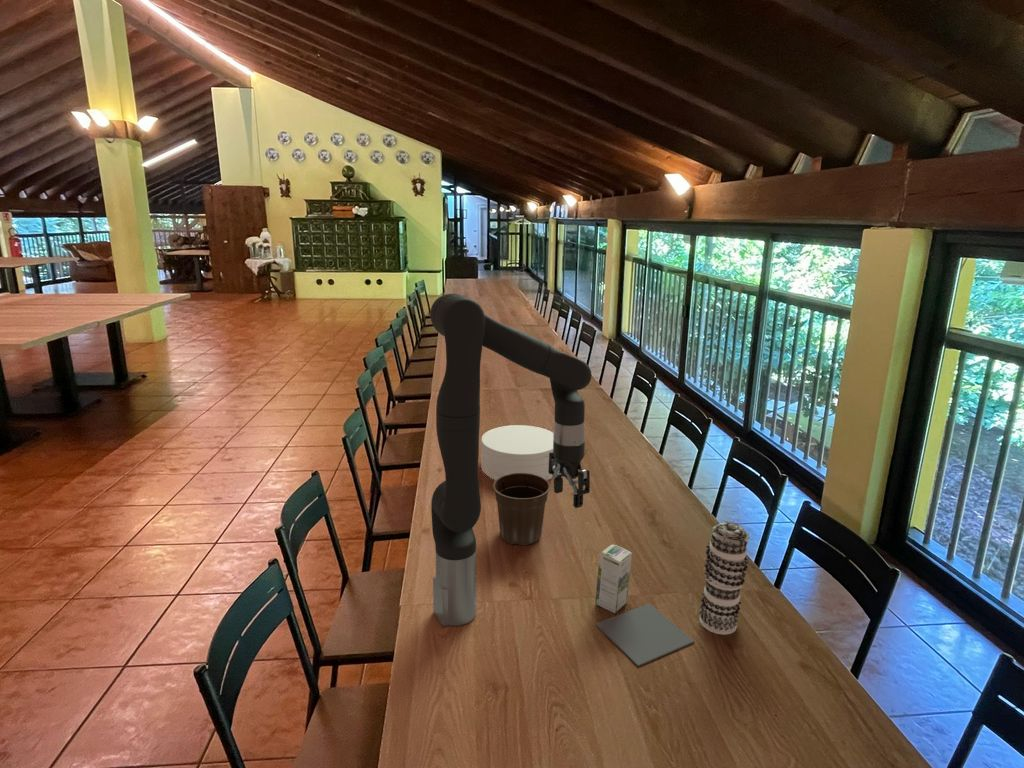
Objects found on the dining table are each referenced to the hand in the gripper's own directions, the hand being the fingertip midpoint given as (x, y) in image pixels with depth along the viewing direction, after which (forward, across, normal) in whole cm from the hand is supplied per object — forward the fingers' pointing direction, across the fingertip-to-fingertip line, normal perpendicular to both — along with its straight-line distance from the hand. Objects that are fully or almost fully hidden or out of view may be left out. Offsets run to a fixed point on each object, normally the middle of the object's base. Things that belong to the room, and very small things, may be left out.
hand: (568, 499), depth 151 cm
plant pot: (+24, -25, +1) cm, 35 cm away
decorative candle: (+25, +30, +22) cm, 45 cm away
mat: (+24, +25, +4) cm, 35 cm away
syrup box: (+24, +13, +5) cm, 28 cm away
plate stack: (+24, -66, +24) cm, 75 cm away
